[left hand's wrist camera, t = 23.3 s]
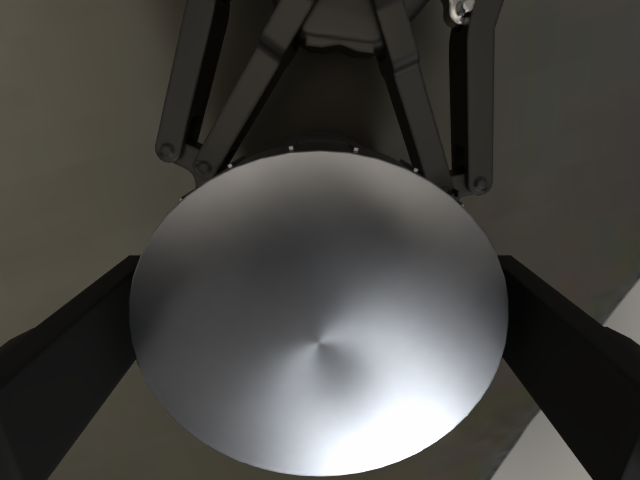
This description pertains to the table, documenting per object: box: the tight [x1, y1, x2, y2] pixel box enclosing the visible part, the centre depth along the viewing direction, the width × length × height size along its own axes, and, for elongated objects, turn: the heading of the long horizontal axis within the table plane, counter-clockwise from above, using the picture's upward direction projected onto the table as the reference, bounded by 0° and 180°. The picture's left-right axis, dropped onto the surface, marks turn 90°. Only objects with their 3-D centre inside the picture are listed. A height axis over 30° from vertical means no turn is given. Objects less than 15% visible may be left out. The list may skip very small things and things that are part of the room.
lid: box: [129, 141, 509, 476], centre depth 11 cm, size 11×11×2 cm
